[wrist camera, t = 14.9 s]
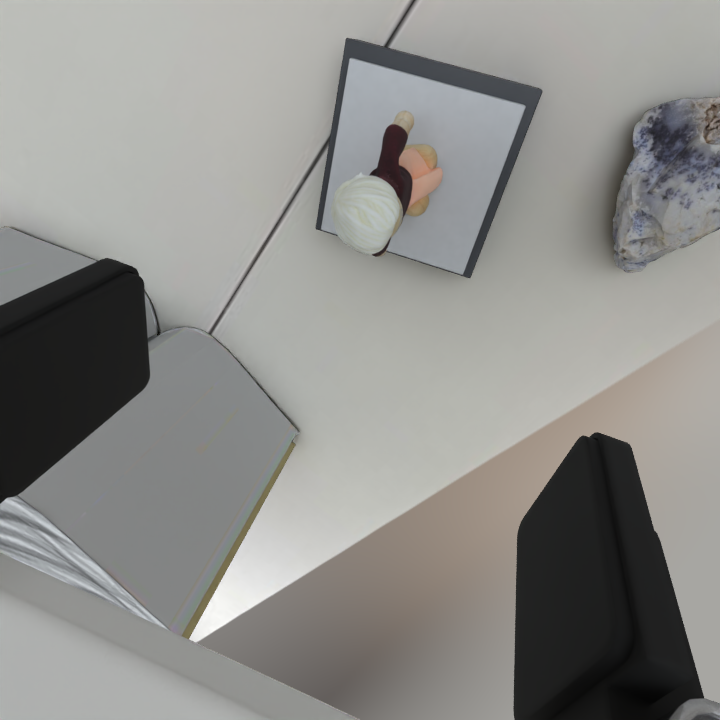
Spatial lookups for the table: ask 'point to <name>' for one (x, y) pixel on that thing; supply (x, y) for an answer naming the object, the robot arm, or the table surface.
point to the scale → (439, 130)
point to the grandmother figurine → (386, 191)
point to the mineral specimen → (669, 182)
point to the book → (149, 470)
